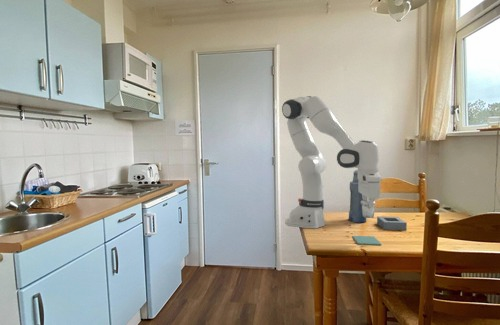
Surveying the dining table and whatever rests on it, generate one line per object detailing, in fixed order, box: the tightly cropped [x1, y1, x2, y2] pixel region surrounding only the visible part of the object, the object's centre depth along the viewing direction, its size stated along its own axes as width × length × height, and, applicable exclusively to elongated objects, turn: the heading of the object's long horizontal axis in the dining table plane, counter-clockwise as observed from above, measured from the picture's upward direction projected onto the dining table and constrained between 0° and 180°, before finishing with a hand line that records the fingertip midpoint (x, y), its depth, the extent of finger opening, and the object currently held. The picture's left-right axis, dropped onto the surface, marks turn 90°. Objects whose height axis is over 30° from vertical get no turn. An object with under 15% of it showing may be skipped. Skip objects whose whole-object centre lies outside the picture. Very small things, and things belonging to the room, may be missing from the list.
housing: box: [376, 216, 408, 231], centre depth 147 cm, size 11×11×4 cm
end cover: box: [361, 199, 376, 219], centre depth 125 cm, size 6×6×7 cm
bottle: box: [348, 169, 367, 224], centre depth 158 cm, size 10×10×30 cm
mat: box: [352, 235, 382, 246], centre depth 126 cm, size 10×10×1 cm
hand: (367, 205), depth 125 cm, fingers closed on end cover, 6 cm apart
